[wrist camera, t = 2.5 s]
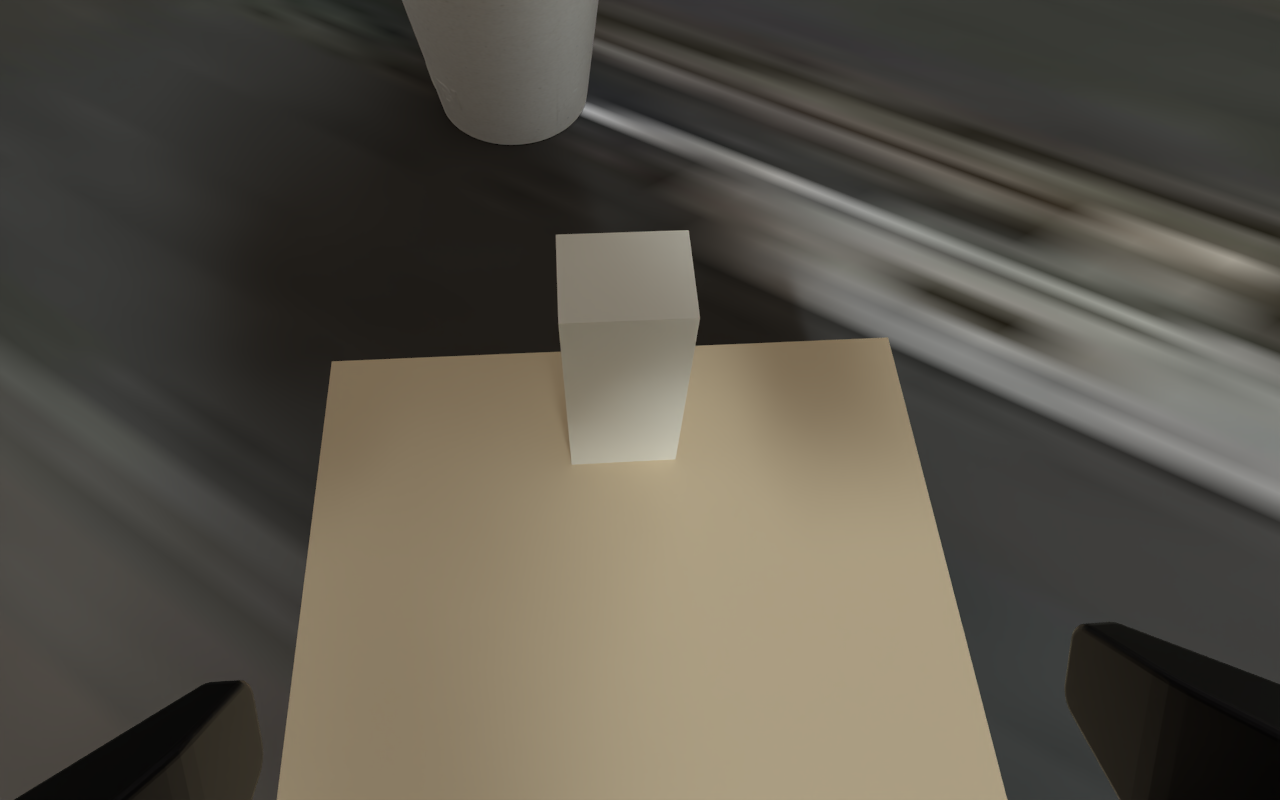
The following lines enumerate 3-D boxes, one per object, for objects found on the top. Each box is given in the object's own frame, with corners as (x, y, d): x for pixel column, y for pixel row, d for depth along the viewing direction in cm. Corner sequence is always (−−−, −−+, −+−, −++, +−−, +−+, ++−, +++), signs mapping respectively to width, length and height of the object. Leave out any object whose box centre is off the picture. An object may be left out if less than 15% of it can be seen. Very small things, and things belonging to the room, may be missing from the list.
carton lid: (1014, 878, 16) (1238, 893, 10) (270, 943, 15) (65, 1001, 10) (881, 349, 22) (977, 173, 16) (338, 373, 21) (238, 196, 15)
